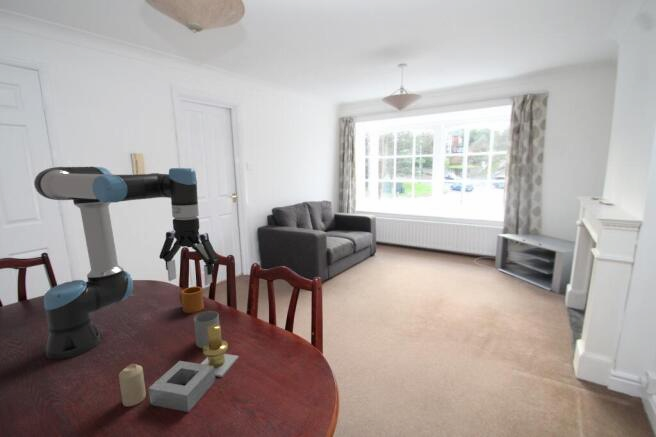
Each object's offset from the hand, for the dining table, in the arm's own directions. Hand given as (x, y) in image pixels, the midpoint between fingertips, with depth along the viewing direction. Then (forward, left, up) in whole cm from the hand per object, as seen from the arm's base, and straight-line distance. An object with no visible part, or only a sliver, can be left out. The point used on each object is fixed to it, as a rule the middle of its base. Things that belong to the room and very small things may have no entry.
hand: (190, 281), depth 99 cm
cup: (-2, +9, -27) cm, 29 cm away
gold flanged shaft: (+9, -2, -27) cm, 28 cm away
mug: (-27, +32, -27) cm, 50 cm away
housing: (+7, -15, -27) cm, 32 cm away
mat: (+9, -2, -27) cm, 29 cm away
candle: (-5, -21, -27) cm, 35 cm away
